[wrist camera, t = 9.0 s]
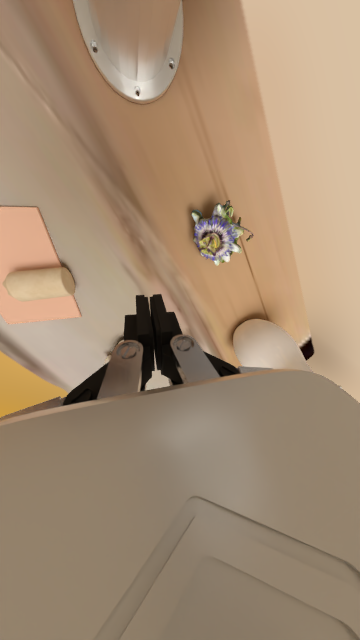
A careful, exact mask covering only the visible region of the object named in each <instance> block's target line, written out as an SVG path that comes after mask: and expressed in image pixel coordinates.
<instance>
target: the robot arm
mask: <svg viewBox="0 0 360 640" xmlns="http://www.w3.org/2000/svg"><path fill="white" fill-rule="evenodd" d="M73 4H74V8H75V13H76V17H77V21H78V24H79V27H80V30H81V34H82V37H83V39H84V42H85V44H86V47H87V49H88V52H89V54H90V56H91V58H92V60H93V62H94V63H95V65H96V67H97V69H98V70H99V72H100V73H101V75H102V76H103V78H104V79H105V81H106V82H107V83H108V84H109V85H110V86H111V87H112V88H113V90H115V91H116V92H117V93H118V94H119V95H121V96H122V97H123V98H125V99H127V100H129V101H131V102H134V103H139V104H146V103H151V102H153V101H156V100H157V99H159V98H160V97H161V96H162V95H163V94H164V93H165V92H166V91H167V89H168V88H169V86H170V84H171V82H172V80H173V78H174V76H175V73H176V71H177V68H178V64H179V60H180V56H181V50H182V42H183V21H184V19H183V5H182V0H73ZM94 49H97V51H98V52H97V53H95V52H94V51H93V50H94ZM169 65H171V66H172V69H171V68H170V67H169ZM136 92H138V93H139V96H137V95H136ZM150 310H151V316H150ZM136 312H137V314H136V315H125V326H124V341H123V342H121V343H119V344H118V345H117V346H115V348H114V350H113V352H112V355H111V358H110V361H109V362H108V363H106V364H105V365H104V366H103V367H101V368H100V369H99V370H98V371H96V372H95V373H94V374H92V375H91V376H90V377H89V378H87V379H86V380H85V381H84V382H82V383H81V384H80V385H78V386H77V387H76V388H75V389H73V390H72V391H71V392H70V393H69V394H68V395H67V397H64V398H61V397H57V398H54V399H51V400H49V401H46V402H43V403H40V404H37V405H34V406H31V407H28V408H25V409H23V410H20V411H17V412H14V413H11V414H8V415H5V416H3V417H1V418H0V640H360V403H359V402H358V401H356V400H355V399H354V398H353V397H352V396H350V395H349V394H348V393H347V392H346V391H344V390H343V389H342V388H340V387H339V386H338V385H337V384H335V383H334V382H332V381H331V380H329V379H327V378H325V377H324V376H321V375H318V374H316V373H312V372H308V371H303V370H297V369H273V368H261V367H242V366H239V367H238V368H235V367H234V366H233V365H231V364H229V363H227V362H225V361H223V360H221V359H218V358H216V357H214V356H212V355H210V354H208V353H206V352H204V351H202V349H201V348H200V346H199V345H198V343H197V342H196V340H195V339H194V338H192V337H191V336H188V335H183V334H182V331H181V329H180V326H179V323H178V321H177V318H176V315H175V313H174V312H166V309H165V305H164V302H163V299H162V296H161V294H157V295H153V297H150V309H149V303H148V297H144V295H136ZM154 351H155V358H156V365H157V370H161V375H164V376H166V377H168V378H169V383H170V386H168V387H163V388H157V389H152V390H146V387H147V386H146V383H147V382H148V380H149V379H150V378H151V377H152V371H155V366H154Z"/></svg>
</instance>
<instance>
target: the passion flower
mask: <svg viewBox="0 0 360 640" xmlns="http://www.w3.org/2000/svg"><path fill="white" fill-rule="evenodd" d="M229 205H230V201H227V202H226V204H225V205H223V206H222V205H220V203H218V204H216V206H215V207H214V210H213V213H212V216H211V218H209V219H204V218H203V216H202V213H201V212H200V211H199V210H193V211H192V217H193V219H194V221H195V222H196V224H195V227H194V228H193V229H194V230H195V233H194V235H195V238H194V239H193V241H194V242H195V243H196V244H197V247H198V248H199V251H201V256H205V257H206V258H207V259H208V258H210V260H213V261H214V263H215V265H219V263H220V262H222V263H223V262H229V260H230V256H231V254H232V253H233V252H237V253H241V252H242V250H241V247H240V246H239V245H238V244H237V240H238V238H239V236H240V235H242V234H243V232H244V230H247V229H245V228H243V227H241V226H240V221H241V217H239V220H238V223H237V224H235V223H233V222H232V219H230V218H229V216H228V215H229V212H230V216H231V217H232V215H233V207H232V206H229ZM226 207H227V209H226V210H225V208H226ZM233 225H234V226H233ZM239 227H240V228H239ZM241 228H242V229H241ZM247 231H248V232H250V233H252V232H251V231H249V230H247ZM252 237H253V233H252V235H250V236H249V238H248V239H246V240H247V241H249V240H250V239H251V238H252Z"/></svg>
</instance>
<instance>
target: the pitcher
mask: <svg viewBox="0 0 360 640" xmlns="http://www.w3.org/2000/svg"><path fill="white" fill-rule="evenodd" d="M233 346H234V351H235V354H236V356H237V358H238V360H239V361H240V363H241V364H242V366H243V367H261V368H273V369H297V370H303V371H308V372H312V373H313V371H312V370H311V369H310V367H309V365H308V364H307V362H306V360H305V358H304V356H303V354H302V352H301V350H300V348H299V347H298V345H297V343H296V342H295V341H294V339H293V338H292V337H291V336H290V335H289V334H288V333H287V332H286V331H285V330H284V329H282V328H281V327H280V326H278V325H276V324H274V323H272V322H270V321H266V320H262V319H250V320H247V321H245V322H243V323H242V324H240V325H239V326H238V327H237V329H236V330H235V332H234V336H233ZM339 387H340V388H342V387H341V386H339Z"/></svg>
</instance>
